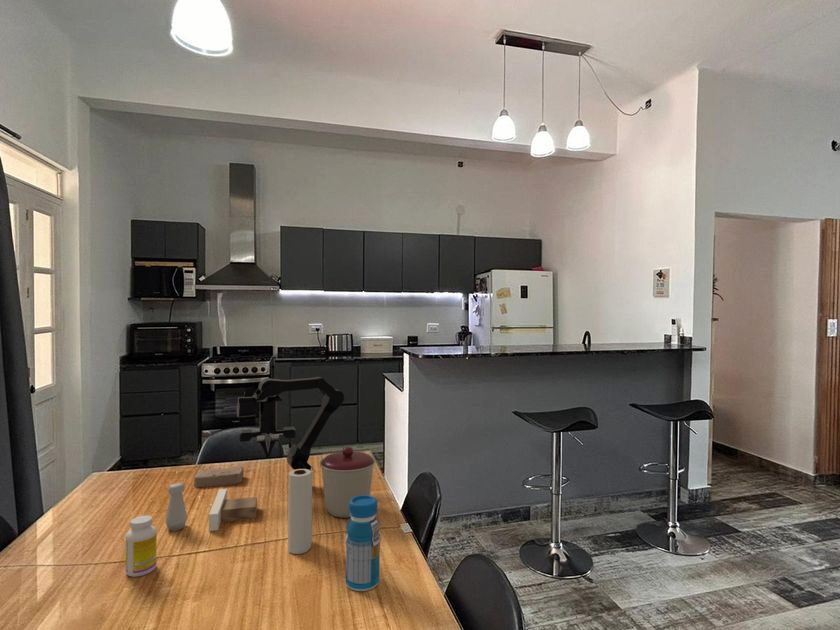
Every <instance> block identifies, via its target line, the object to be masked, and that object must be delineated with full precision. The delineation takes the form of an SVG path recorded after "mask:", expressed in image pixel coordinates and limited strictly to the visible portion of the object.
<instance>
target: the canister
mask: <svg viewBox="0 0 840 630" xmlns="http://www.w3.org/2000/svg"><path fill="white" fill-rule="evenodd" d="M374 465H376V458H374V457H373V456H372V455H370V454H368V453H365V452H362V451H357V450H354V448H353V447H351V446H345V447H344V448H343V449H342V451H338V452H334V453H330V454H328V455H326V456H325V457H324V458H322V459H321V460H320V461H319V466H320V468H321V472H322V484H323V492H324V500H325V507H326V510H327V512H328V513H329V515H332V516H334V517H336V518H340V519H342V518H344V519H345V518H347V519H348V518H351V516H350V513H349V503H350V500H351V499H352V498H353V497H356V496H360V495H369V496H371V490H372V480H373V471H374Z"/></svg>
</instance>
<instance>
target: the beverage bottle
mask: <svg viewBox="0 0 840 630" xmlns="http://www.w3.org/2000/svg"><path fill="white" fill-rule="evenodd" d="M349 513H350V516H351V517H349V519H348V521H347V524H346V527H345V532H346V536H345V540H344V543H345V584H346V586H347V588H348V589H350V590H353V591H355V592H356V591H357V592H367V591H370V590H372V589H375V587H377V585H378V584H379V583H380V561H381V560H380V557H381V553H380V552H381V551H380V550H381V549H380V548H381V539H382V538H381V534H380V530H381V525H380V522H379V520H378V518H377V513H378V499H377V498H376V497H374V496H372V495H370V496H369V495H360V496H356V497H353V498H352V499H351V500H350V503H349Z"/></svg>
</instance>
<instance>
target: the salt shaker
mask: <svg viewBox="0 0 840 630" xmlns="http://www.w3.org/2000/svg"><path fill="white" fill-rule="evenodd" d="M185 489H186V488H185V484H184V483H182V482H177V483H176V482H175V483H173V484H170V485H169V486H168V494H170V496H169V501H168V508H167V510H166V515H165V516H166V517H165V521H164V522H165V525H166V527H167V529H168V530H169V531H173V532H175V531H180V530H181V529H183V528H184V527H185V525H186V522H187V520H188V515H187V510H186V509H187V508H186V505H185V500H184V496H183V493H184V491H185Z"/></svg>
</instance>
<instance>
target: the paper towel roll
mask: <svg viewBox="0 0 840 630" xmlns="http://www.w3.org/2000/svg"><path fill="white" fill-rule="evenodd" d="M312 468H313V467H312ZM312 468H311V471H310V470H308V469H296V470H294V469H293V470H290V471H288V500H287V501H288V502H287V504H288V507H287V508H288V509H287V510H288V511H287V512H288V513H287V514H288V515H287V517H288V518H287V519H288V520H287V521H288V523H287V524H288V528H287V550H288V552H289V553H290V554H292V555H301V554H304V553H307V552H308V551H310V549H311V547H312V541H313V539H312V538H313V537H312V536H313V533H312V532H313V531H312V530H313V529H312V528H313V526H312V525H313V519H312V518H313V470H312Z"/></svg>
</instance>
